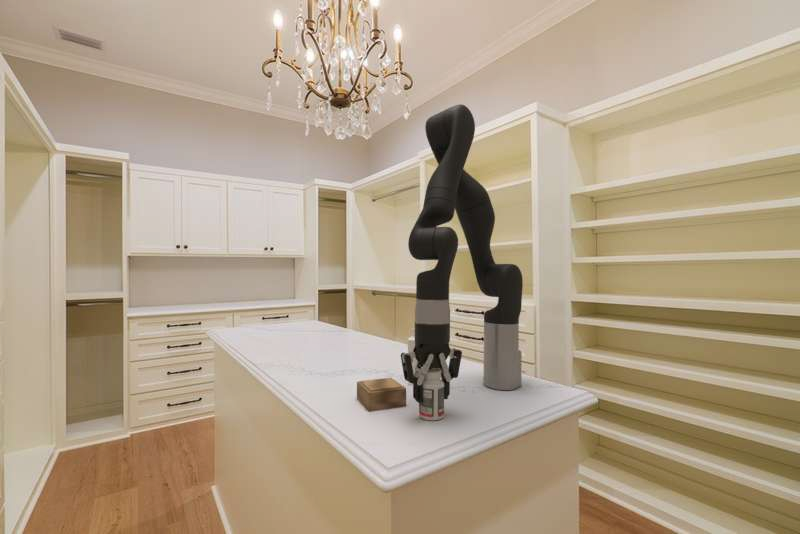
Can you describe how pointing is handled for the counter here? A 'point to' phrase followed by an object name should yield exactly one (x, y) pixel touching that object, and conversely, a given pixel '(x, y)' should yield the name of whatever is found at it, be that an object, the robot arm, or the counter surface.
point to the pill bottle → (432, 396)
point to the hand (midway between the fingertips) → (431, 399)
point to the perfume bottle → (410, 348)
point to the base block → (381, 394)
